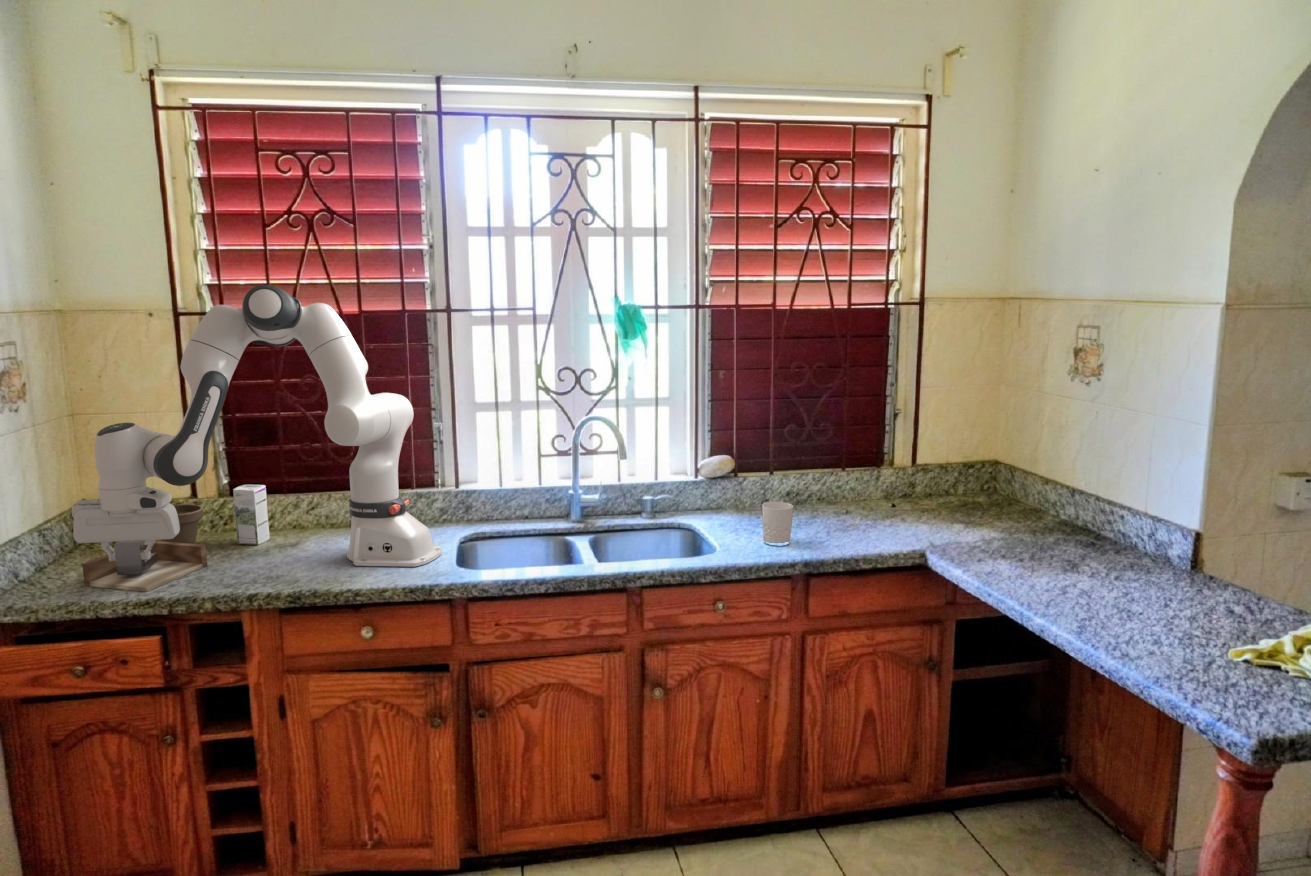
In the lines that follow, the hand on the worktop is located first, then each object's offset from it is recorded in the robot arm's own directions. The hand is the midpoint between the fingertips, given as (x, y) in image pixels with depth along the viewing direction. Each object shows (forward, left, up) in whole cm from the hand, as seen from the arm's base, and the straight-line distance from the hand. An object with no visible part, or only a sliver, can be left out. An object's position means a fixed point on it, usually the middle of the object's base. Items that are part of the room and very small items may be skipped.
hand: (130, 559), depth 190 cm
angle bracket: (+1, -3, -3) cm, 5 cm away
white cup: (-136, -63, -5) cm, 150 cm away
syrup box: (-6, -32, -5) cm, 33 cm away
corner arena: (0, -4, -5) cm, 7 cm away
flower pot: (+8, -23, -5) cm, 25 cm away
